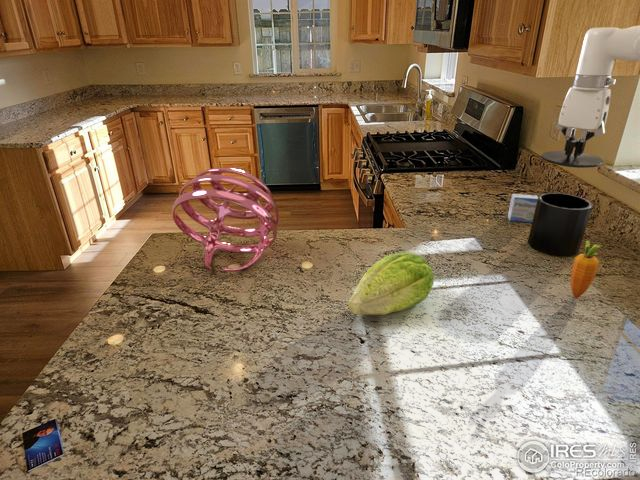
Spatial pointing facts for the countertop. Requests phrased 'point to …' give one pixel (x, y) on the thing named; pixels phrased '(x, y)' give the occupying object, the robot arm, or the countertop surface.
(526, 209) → the medicine box
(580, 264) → the carrot
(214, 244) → the pink openwork sphere
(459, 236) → the countertop surface
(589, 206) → the trash can
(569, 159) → the bin lid
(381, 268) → the lettuce
